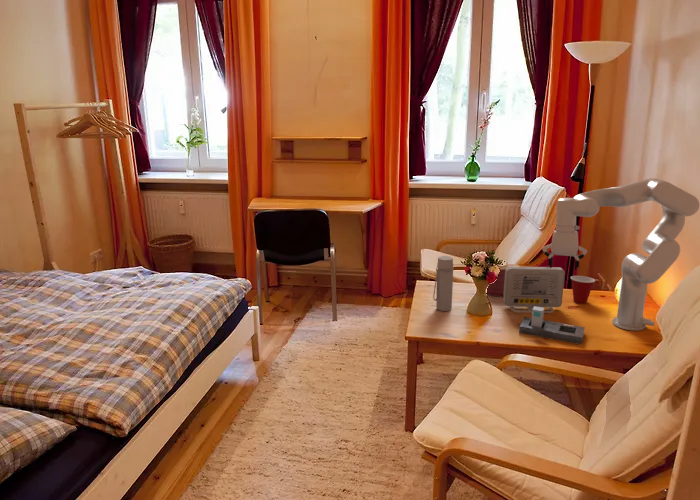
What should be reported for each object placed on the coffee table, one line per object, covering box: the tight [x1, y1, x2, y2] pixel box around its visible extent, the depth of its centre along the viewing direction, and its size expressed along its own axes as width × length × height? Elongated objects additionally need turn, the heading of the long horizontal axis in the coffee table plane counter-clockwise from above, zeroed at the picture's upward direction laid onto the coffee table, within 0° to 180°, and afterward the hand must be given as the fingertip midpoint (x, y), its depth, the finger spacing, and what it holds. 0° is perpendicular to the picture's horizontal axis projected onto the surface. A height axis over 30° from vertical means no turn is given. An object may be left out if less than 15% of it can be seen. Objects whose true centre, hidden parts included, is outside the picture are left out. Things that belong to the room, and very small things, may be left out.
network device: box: [502, 266, 566, 314], centre depth 236 cm, size 26×9×20 cm, turn 84°
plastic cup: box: [570, 275, 596, 305], centre depth 245 cm, size 11×11×12 cm
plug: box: [531, 306, 545, 328], centre depth 214 cm, size 4×5×10 cm
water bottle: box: [432, 255, 454, 312], centre depth 236 cm, size 9×8×25 cm
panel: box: [518, 316, 585, 345], centre depth 213 cm, size 24×11×3 cm, turn 61°
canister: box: [486, 258, 510, 297], centre depth 258 cm, size 13×13×18 cm
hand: (563, 268), depth 214 cm, fingers open, 9 cm apart
